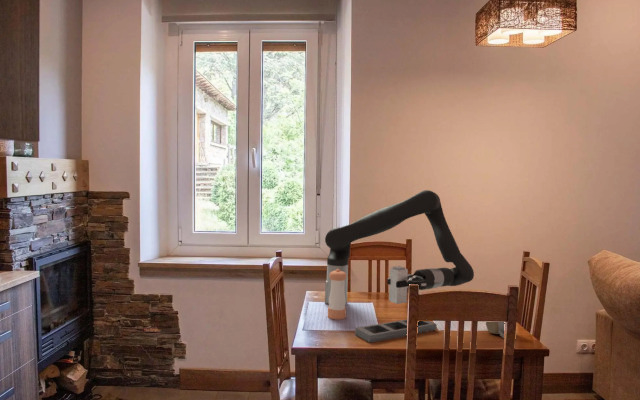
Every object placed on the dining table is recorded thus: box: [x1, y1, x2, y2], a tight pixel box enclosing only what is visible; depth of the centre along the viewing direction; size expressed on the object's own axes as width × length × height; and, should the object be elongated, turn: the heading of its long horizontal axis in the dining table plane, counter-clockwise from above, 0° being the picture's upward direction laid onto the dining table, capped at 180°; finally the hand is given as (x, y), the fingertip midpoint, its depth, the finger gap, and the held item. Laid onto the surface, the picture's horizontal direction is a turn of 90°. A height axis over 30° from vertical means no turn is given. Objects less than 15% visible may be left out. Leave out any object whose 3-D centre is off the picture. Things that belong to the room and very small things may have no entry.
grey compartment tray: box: [354, 318, 438, 344], centre depth 174 cm, size 30×9×2 cm, turn 119°
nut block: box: [388, 265, 409, 305], centre depth 173 cm, size 4×4×13 cm
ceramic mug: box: [485, 321, 505, 339], centre depth 174 cm, size 11×8×8 cm
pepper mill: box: [327, 269, 347, 320], centre depth 190 cm, size 7×7×19 cm
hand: (392, 283), depth 171 cm, fingers closed on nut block, 4 cm apart
